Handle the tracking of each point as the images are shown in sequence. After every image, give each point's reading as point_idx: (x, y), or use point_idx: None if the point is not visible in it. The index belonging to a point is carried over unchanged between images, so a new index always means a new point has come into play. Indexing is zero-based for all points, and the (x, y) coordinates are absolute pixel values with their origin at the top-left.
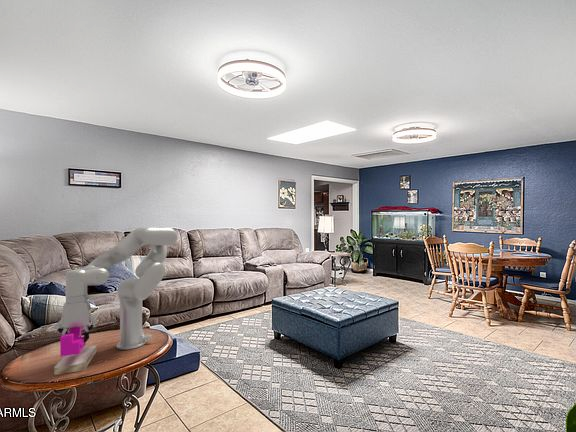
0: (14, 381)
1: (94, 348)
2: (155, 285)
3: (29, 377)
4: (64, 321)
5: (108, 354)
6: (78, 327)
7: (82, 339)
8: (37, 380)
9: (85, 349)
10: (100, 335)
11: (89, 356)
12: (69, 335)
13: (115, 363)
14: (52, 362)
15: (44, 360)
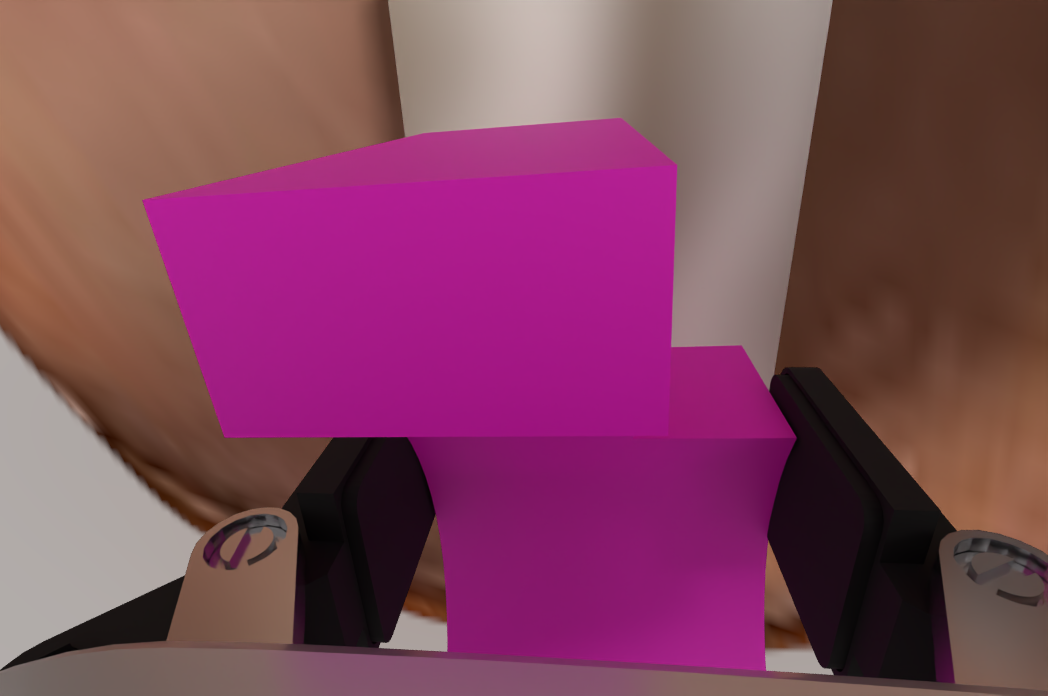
0: (200, 499)
1: (821, 54)
2: None
3: (276, 471)
4: None
5: (992, 127)
6: (591, 416)
7: (732, 510)
8: None
9: (672, 82)
10: None
11: (768, 373)
12: None
13: (1037, 473)
14: (285, 156)
15: (130, 30)
